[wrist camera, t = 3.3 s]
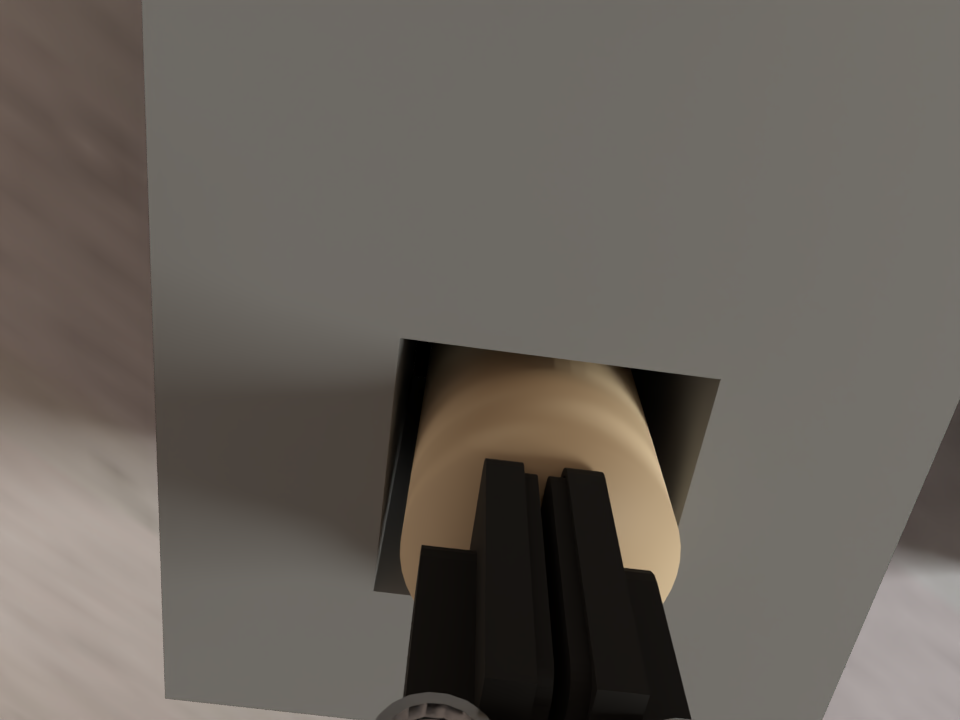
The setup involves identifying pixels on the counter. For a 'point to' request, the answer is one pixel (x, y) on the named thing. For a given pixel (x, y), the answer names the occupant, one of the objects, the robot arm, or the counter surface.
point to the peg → (534, 449)
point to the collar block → (545, 306)
